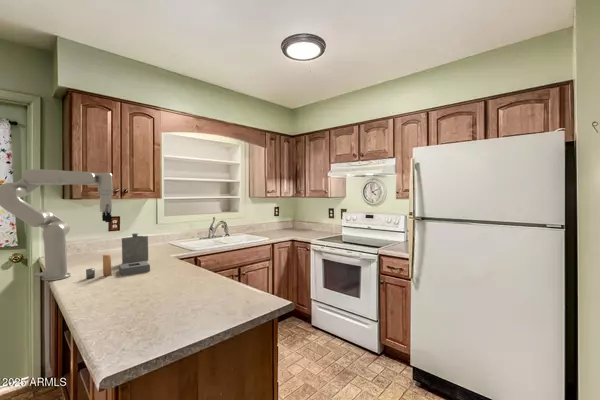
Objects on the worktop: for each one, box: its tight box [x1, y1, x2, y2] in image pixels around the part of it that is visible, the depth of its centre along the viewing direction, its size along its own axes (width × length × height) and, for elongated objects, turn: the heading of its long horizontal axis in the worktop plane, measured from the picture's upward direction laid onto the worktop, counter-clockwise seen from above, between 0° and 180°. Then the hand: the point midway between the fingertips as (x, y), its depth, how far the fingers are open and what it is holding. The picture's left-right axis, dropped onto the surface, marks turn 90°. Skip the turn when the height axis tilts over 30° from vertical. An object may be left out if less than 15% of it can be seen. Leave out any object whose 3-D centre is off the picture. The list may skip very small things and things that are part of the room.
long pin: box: [102, 253, 112, 277], centre depth 170 cm, size 4×4×12 cm
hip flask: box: [121, 232, 149, 264], centre depth 201 cm, size 16×4×20 cm, turn 127°
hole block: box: [118, 261, 151, 276], centre depth 179 cm, size 15×12×4 cm
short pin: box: [85, 267, 96, 280], centre depth 165 cm, size 4×4×5 cm
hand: (107, 221), depth 175 cm, fingers open, 9 cm apart
